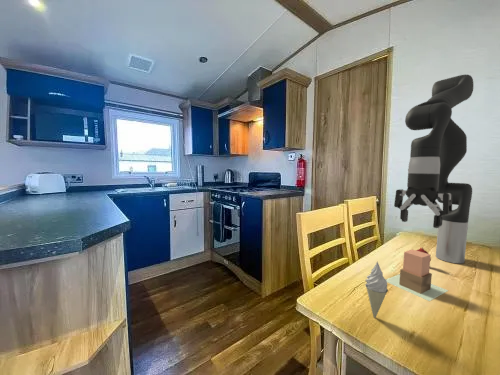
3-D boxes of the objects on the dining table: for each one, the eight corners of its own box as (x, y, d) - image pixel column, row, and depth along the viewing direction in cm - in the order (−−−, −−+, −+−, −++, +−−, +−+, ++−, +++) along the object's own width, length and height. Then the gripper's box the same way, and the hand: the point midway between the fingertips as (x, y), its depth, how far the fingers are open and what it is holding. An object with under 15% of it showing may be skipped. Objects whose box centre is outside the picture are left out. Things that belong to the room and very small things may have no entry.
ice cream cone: (359, 311, 59) (362, 257, 58) (377, 310, 59) (380, 257, 58) (371, 324, 54) (375, 265, 53) (390, 323, 54) (394, 265, 53)
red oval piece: (433, 270, 83) (435, 250, 83) (416, 269, 85) (417, 249, 84) (424, 264, 89) (426, 245, 88) (408, 262, 90) (410, 244, 90)
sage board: (402, 275, 79) (402, 272, 79) (448, 294, 68) (448, 290, 67) (383, 283, 73) (383, 280, 73) (429, 305, 62) (429, 301, 62)
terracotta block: (411, 266, 72) (412, 249, 72) (429, 273, 68) (430, 254, 68) (402, 270, 70) (404, 251, 70) (420, 276, 66) (422, 257, 65)
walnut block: (409, 280, 73) (410, 266, 73) (430, 289, 68) (431, 273, 68) (399, 284, 71) (400, 269, 70) (420, 293, 65) (422, 277, 65)
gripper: (459, 172, 62) (454, 228, 63) (404, 171, 74) (401, 218, 76) (447, 172, 58) (442, 231, 60) (391, 171, 71) (388, 220, 72)
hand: (419, 224), depth 68 cm, fingers open, 8 cm apart
